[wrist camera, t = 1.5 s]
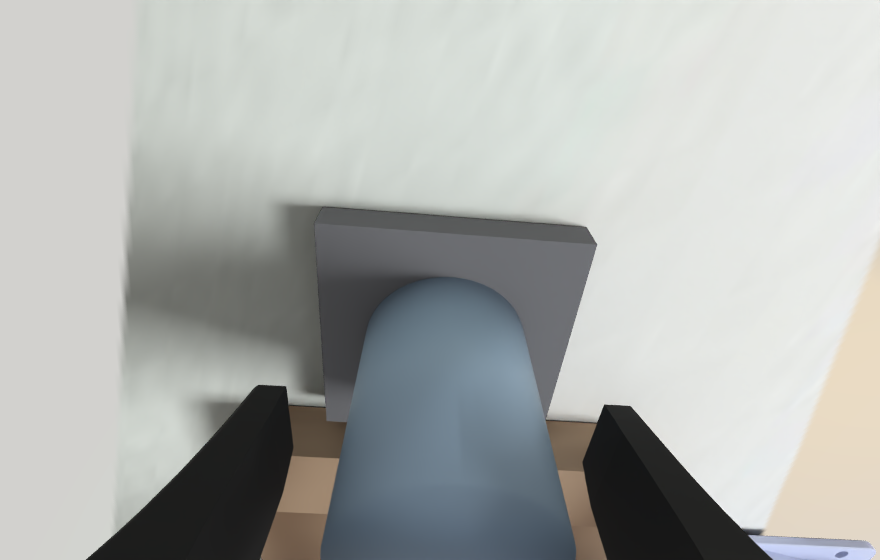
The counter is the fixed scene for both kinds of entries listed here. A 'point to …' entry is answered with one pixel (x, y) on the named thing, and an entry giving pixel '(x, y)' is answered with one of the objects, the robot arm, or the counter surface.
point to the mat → (444, 255)
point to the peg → (446, 437)
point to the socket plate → (315, 465)
